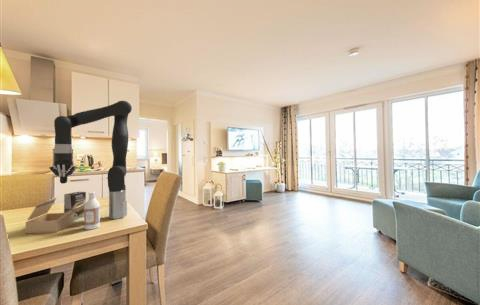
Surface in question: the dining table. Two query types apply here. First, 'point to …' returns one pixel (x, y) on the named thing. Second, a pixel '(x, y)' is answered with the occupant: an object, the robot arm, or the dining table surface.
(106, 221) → the dining table surface
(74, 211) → the flap
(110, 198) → the robot arm
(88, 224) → the bath foam
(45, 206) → the flap
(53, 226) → the carton
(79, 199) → the coffee box
